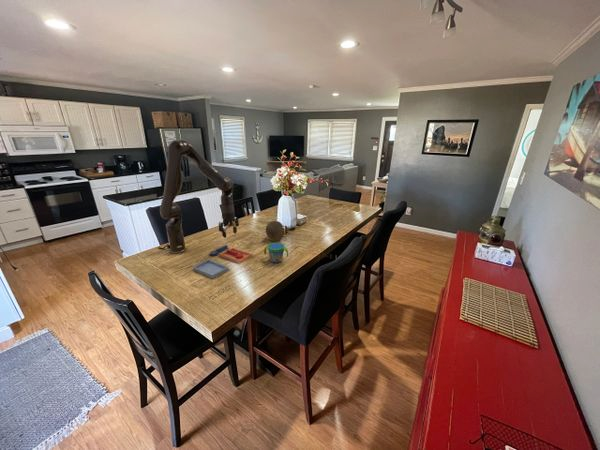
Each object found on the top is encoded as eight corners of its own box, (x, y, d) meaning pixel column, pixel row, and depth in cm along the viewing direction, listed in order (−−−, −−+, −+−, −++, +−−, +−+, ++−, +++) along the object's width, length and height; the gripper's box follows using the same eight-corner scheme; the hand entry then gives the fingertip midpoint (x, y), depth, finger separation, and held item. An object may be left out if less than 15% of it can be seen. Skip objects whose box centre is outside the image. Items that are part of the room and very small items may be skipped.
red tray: (220, 256, 156) (219, 253, 155) (233, 250, 165) (232, 247, 164) (239, 263, 147) (239, 260, 147) (251, 256, 156) (251, 253, 156)
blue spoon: (213, 256, 156) (213, 253, 155) (208, 254, 158) (208, 251, 157) (229, 249, 166) (229, 245, 166) (224, 247, 169) (224, 244, 168)
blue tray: (193, 270, 140) (192, 267, 139) (209, 262, 149) (208, 259, 148) (212, 278, 131) (212, 275, 131) (228, 269, 140) (228, 266, 140)
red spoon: (244, 256, 155) (244, 253, 154) (239, 259, 151) (239, 255, 150) (230, 251, 162) (230, 248, 161) (224, 254, 158) (224, 250, 157)
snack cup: (291, 258, 154) (290, 244, 150) (284, 266, 144) (283, 251, 141) (269, 254, 159) (268, 240, 155) (261, 261, 150) (260, 247, 146)
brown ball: (288, 240, 182) (288, 221, 177) (274, 245, 172) (273, 226, 167) (276, 235, 191) (275, 217, 186) (262, 240, 181) (261, 221, 176)
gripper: (232, 207, 155) (234, 230, 160) (214, 212, 143) (217, 237, 149) (240, 209, 151) (242, 233, 156) (222, 214, 139) (225, 240, 145)
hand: (229, 235), depth 153 cm, fingers open, 8 cm apart
